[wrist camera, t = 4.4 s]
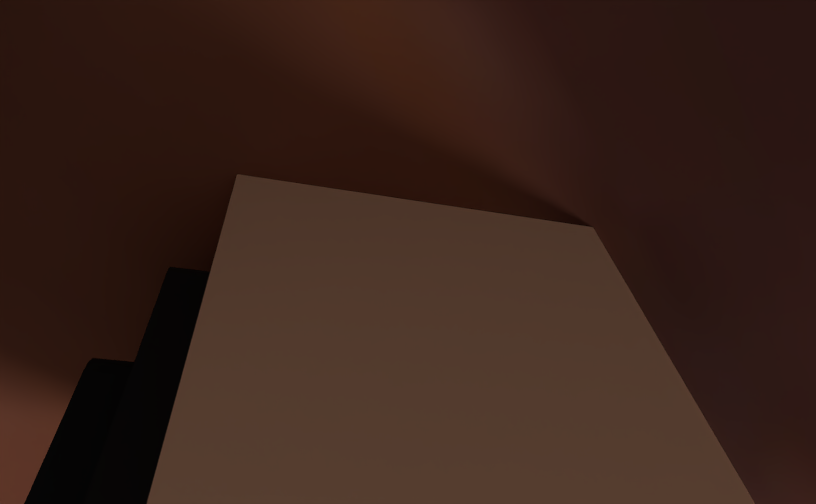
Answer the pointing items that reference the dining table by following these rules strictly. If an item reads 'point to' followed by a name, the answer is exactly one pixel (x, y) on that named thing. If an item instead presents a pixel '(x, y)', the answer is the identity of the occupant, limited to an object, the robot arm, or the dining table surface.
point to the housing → (425, 365)
